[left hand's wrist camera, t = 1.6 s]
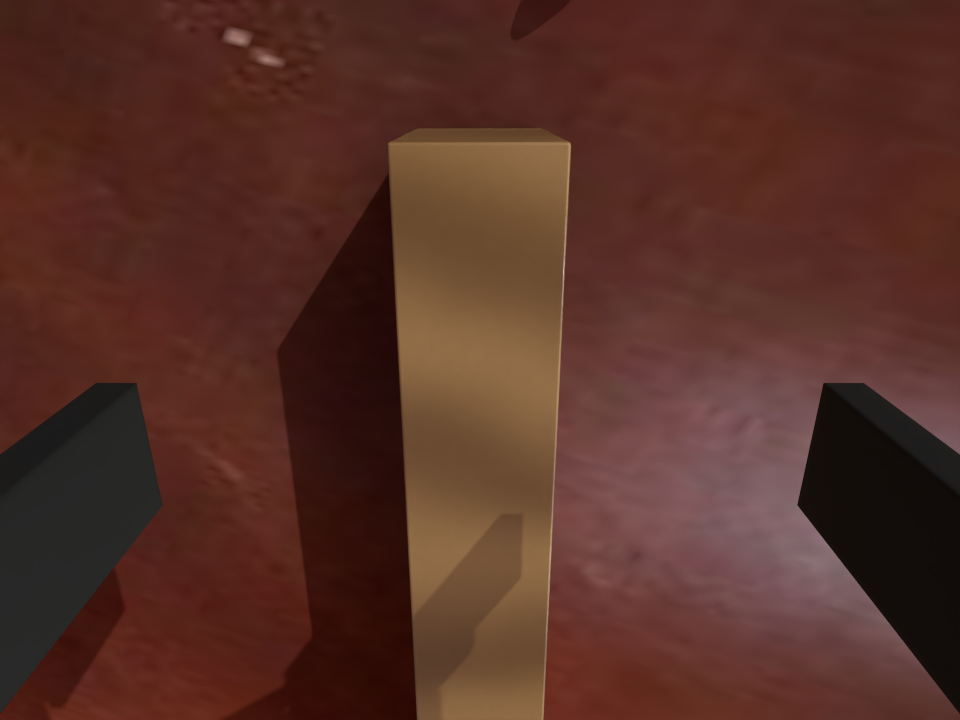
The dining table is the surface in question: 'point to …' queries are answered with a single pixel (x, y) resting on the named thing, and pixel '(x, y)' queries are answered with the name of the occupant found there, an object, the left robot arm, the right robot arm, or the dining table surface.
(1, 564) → the left robot arm
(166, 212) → the dining table surface
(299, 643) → the dining table surface
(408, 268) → the bar
